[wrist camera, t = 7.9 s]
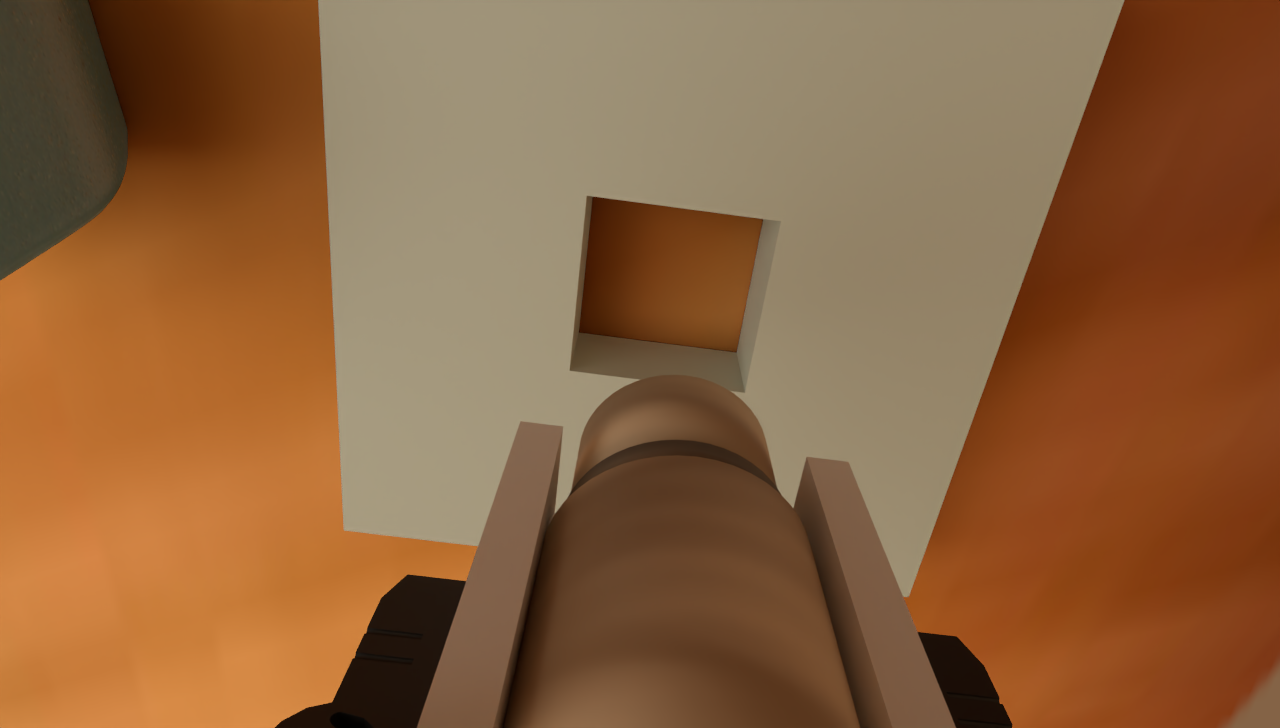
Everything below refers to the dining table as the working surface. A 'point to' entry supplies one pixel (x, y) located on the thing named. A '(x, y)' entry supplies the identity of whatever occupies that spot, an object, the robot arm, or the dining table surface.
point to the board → (690, 179)
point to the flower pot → (54, 127)
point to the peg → (677, 580)
